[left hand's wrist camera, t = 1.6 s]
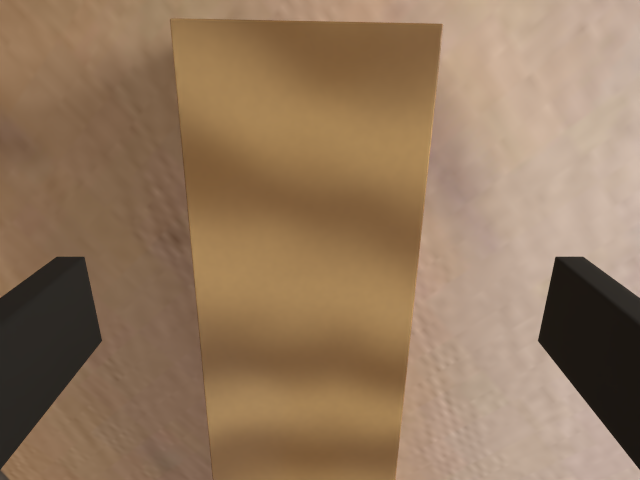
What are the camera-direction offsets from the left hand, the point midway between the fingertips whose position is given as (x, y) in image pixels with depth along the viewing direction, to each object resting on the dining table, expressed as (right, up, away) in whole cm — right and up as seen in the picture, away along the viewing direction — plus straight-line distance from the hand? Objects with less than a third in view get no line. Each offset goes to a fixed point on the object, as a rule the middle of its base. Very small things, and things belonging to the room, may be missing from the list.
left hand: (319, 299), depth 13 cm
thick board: (-1, -15, +20) cm, 25 cm away
